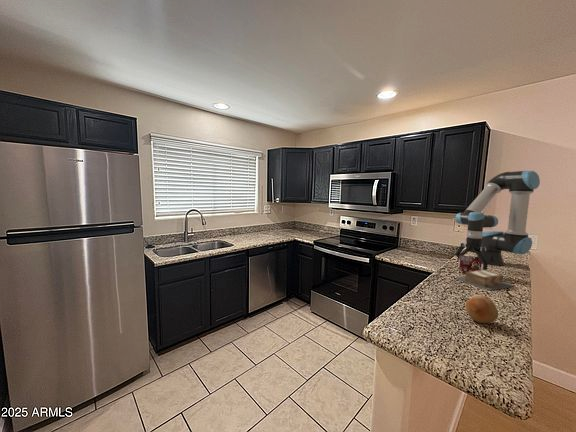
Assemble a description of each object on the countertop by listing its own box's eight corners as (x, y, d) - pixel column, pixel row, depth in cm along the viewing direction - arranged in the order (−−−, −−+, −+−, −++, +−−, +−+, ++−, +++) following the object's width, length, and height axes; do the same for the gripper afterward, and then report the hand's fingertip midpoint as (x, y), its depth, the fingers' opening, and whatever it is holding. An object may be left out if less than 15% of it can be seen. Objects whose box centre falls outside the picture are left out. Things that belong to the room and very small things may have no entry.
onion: (464, 312, 101) (467, 289, 100) (496, 320, 95) (499, 296, 94) (463, 321, 93) (465, 297, 92) (497, 331, 87) (500, 305, 86)
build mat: (478, 275, 147) (478, 274, 147) (514, 286, 130) (514, 285, 130) (455, 278, 141) (455, 277, 141) (489, 290, 124) (489, 289, 124)
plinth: (482, 278, 141) (482, 269, 140) (501, 284, 132) (502, 275, 131) (465, 280, 136) (466, 271, 136) (484, 287, 127) (485, 277, 126)
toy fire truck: (483, 275, 144) (483, 258, 144) (458, 272, 152) (458, 255, 152) (483, 273, 149) (484, 256, 149) (459, 270, 157) (459, 254, 157)
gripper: (450, 234, 159) (447, 265, 161) (492, 241, 136) (489, 278, 138) (458, 233, 161) (455, 264, 164) (501, 241, 138) (497, 277, 140)
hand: (470, 271), depth 151 cm, fingers open, 13 cm apart
